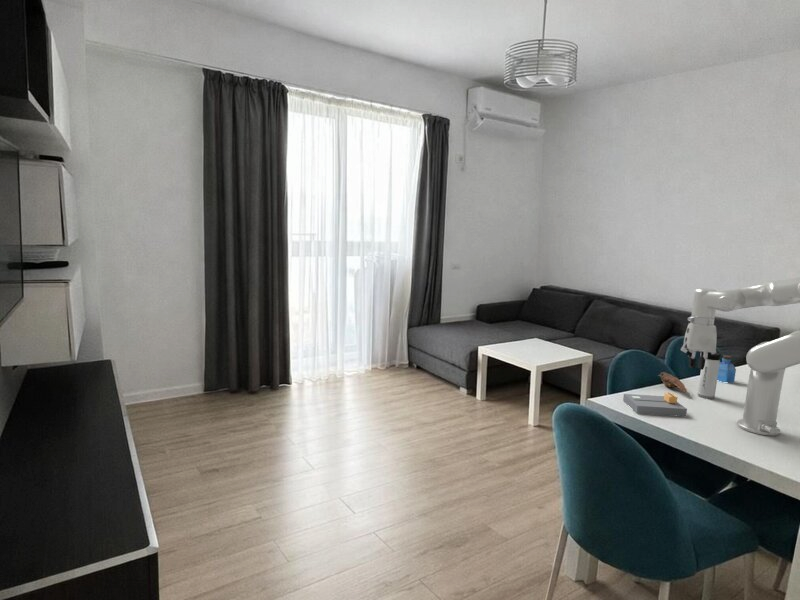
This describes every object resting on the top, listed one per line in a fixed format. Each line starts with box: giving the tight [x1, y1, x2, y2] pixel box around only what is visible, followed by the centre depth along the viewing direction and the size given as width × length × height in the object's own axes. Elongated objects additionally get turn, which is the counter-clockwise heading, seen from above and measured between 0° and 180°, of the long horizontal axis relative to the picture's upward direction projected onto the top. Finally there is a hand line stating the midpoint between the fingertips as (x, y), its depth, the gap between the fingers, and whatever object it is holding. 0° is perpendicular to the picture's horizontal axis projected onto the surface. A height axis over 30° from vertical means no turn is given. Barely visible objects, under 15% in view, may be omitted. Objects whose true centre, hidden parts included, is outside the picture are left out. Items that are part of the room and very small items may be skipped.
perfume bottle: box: [717, 354, 737, 383], centre depth 239 cm, size 6×6×12 cm
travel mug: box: [697, 350, 721, 400], centre depth 213 cm, size 6×7×20 cm
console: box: [622, 393, 688, 417], centre depth 196 cm, size 14×18×3 cm
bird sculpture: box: [657, 371, 688, 393], centre depth 223 cm, size 7×25×5 cm, turn 178°
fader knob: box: [664, 392, 678, 403], centre depth 195 cm, size 4×3×3 cm
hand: (696, 367), depth 193 cm, fingers open, 2 cm apart
